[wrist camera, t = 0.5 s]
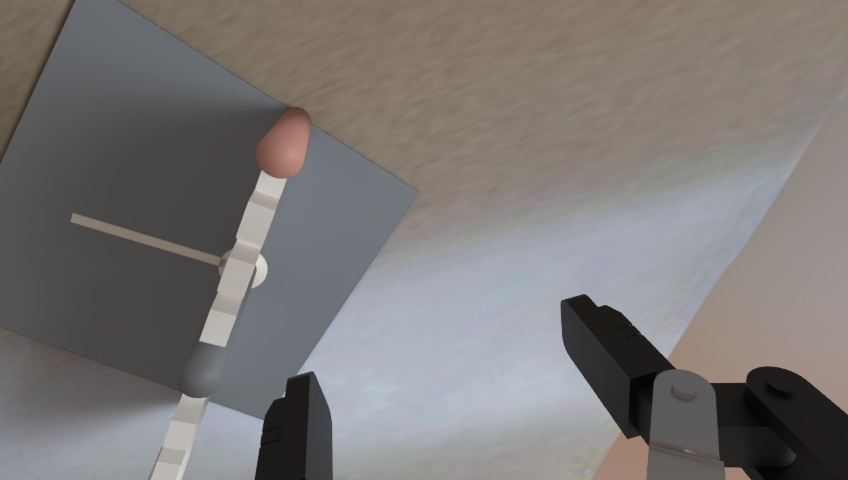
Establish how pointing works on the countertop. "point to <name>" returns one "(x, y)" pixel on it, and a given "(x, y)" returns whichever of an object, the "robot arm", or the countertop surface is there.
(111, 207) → the card
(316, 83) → the countertop surface
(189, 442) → the fixed fence panel
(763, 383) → the robot arm
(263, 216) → the hinged fence panel
